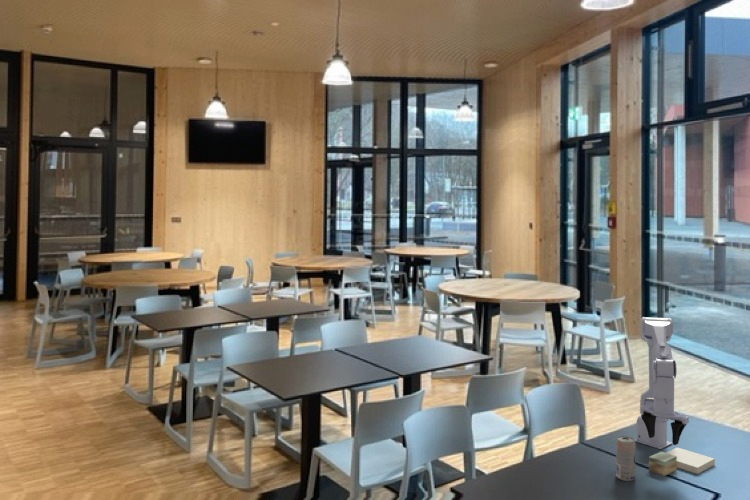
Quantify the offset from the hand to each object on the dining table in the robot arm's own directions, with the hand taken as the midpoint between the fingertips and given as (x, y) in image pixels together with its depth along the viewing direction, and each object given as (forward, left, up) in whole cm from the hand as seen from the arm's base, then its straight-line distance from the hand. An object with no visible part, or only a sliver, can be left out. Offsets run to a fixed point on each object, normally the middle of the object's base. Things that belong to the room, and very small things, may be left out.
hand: (663, 440), depth 190 cm
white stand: (+2, +11, -9) cm, 15 cm away
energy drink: (-4, -14, -10) cm, 18 cm away
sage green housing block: (0, 0, -10) cm, 10 cm away
